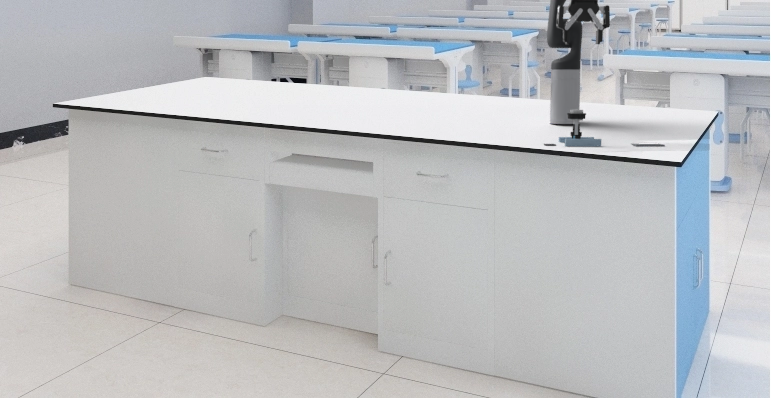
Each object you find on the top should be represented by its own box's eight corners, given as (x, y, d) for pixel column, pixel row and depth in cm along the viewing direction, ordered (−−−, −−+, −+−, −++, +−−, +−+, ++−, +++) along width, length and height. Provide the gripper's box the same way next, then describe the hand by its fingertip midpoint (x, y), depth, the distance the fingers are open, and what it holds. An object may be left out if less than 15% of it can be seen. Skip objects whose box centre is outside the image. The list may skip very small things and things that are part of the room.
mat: (628, 144, 267) (628, 143, 267) (655, 144, 267) (655, 142, 267) (636, 146, 259) (636, 144, 259) (664, 146, 259) (664, 144, 259)
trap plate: (542, 144, 268) (542, 143, 268) (552, 144, 268) (552, 143, 268) (545, 145, 263) (545, 144, 263) (556, 145, 263) (556, 144, 263)
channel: (558, 144, 270) (558, 137, 269) (592, 143, 270) (592, 137, 270) (565, 146, 260) (565, 139, 260) (601, 146, 260) (601, 139, 260)
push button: (585, 146, 261) (586, 110, 260) (566, 145, 262) (567, 110, 261) (585, 144, 268) (586, 109, 266) (566, 144, 269) (567, 109, 267)
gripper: (606, -15, 257) (604, 44, 259) (555, -15, 257) (553, 44, 259) (613, -18, 250) (612, 43, 252) (561, -18, 249) (559, 44, 251)
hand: (582, 44), depth 255 cm, fingers open, 8 cm apart
